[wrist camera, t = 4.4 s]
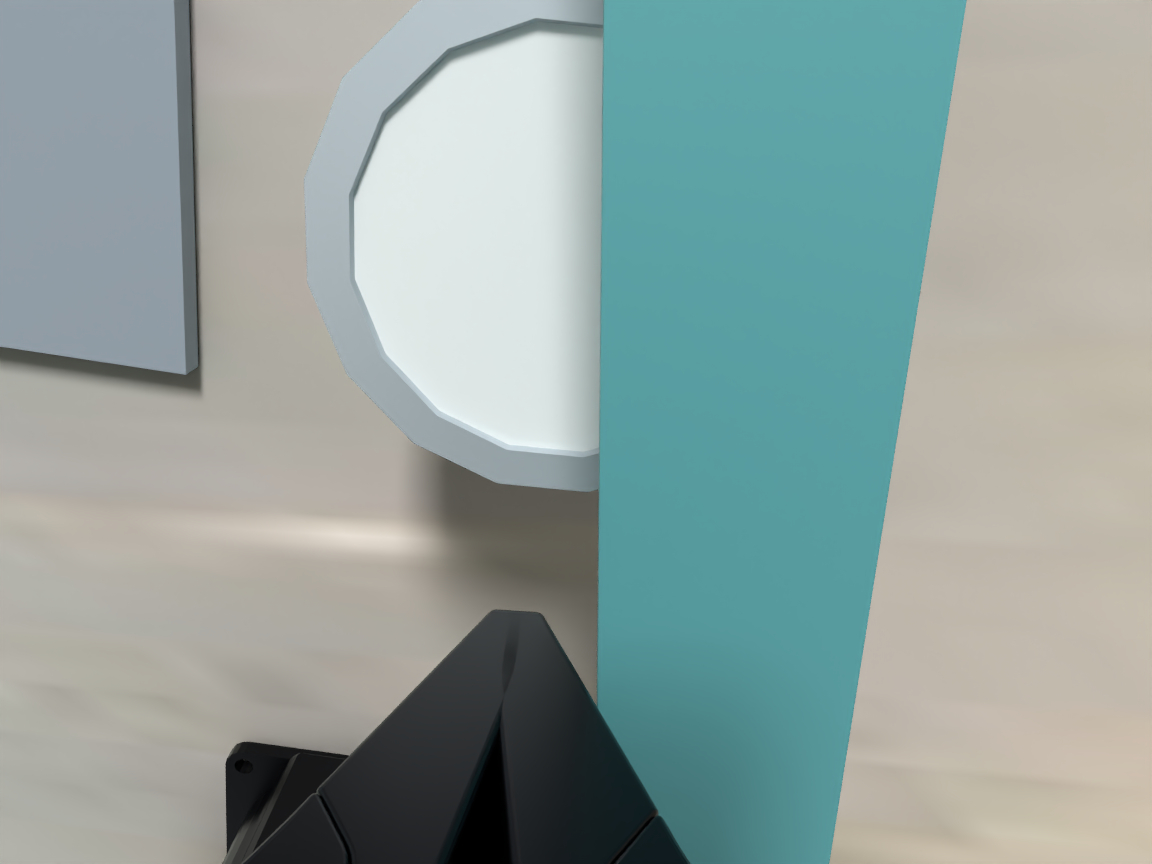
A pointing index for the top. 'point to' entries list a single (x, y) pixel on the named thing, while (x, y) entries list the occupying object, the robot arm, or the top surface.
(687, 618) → the bar
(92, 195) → the slate mat
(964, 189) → the top surface
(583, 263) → the white tapered cup
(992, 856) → the top surface
